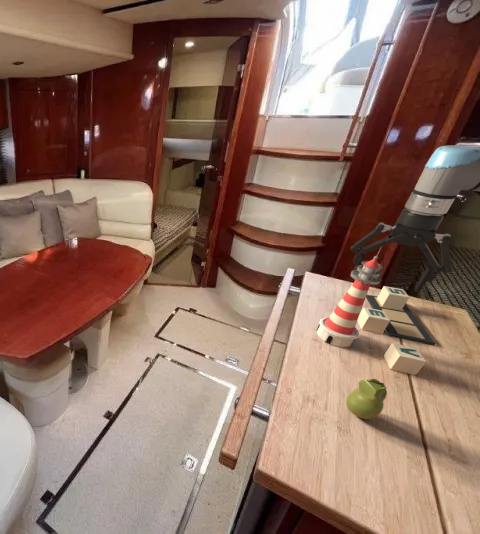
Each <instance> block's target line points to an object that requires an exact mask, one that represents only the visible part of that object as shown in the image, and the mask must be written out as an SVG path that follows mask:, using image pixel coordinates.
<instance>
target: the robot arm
mask: <svg viewBox="0 0 480 534" xmlns="http://www.w3.org/2000/svg"><path fill="white" fill-rule="evenodd" d="M461 191H468V192H469V191H471V192H480V146H468V145H457V144H455V145H453V144H452V145H450V144H449V145H442V146H439V147H437V148H435V150H434V151H433V153H432V154H431V156H430V158H429V159H428V160H427V162H426V164H424V168H423V171H422V172H421V174H420V176H419V178H418V180H417V183H416V184H415V186H414V188H413V190H412V192H411V193H410V195H409V197H408V198H407V201H406V202H405V204H404V208H403V209H402V210H401V212H400V214H399V216H398V218H397V220H396V221H395V223H394V224H393V225H389V224H385V223H384V222H383V221H381V222H379V223H378V224H377V225H376V226H375V228H374V229H373V230H371V231H370V232H368V233H367V234H366V235H364V236H362V238H360V239H359V240H357V241H356V242H355V243H353V244H352V245H351V246H350V252H352V253H354V254H355V255H354V258H353V260H352V265H354V268H353V270H357V268H358V266H359V265H363V264H362V262H363V261H365V258H366V254H368V253H370V252H373V251H375V250H378V249H381V247H382V248H383V247H385V246H387V245H390V244H391V245H392V244H393V243H395V244H397V245H400V246H407V247H410V248H414V247H415V248H416V247H418V248H419V249H420V251H421V253H422V254H423V256H424V258H425V259H426V261H427V263H428V265H429V266H430V267H426V268H425V270H424V271H423V273H422V274H421V276H420V278H419V280H418V281H417V282H416V285H415V286H414V292H415V293H418V294H420V292H421V290H422V289H423V287H424V286H425V284H426V283H432V282H433V281H434V280H435V278H436V277H437V275H438V274H441V273H447V274H448V273H449V274H450V273H451V272H453V268H452V261H451V253H450V247H449V245H450V243H451V241H452V236H451V234H450V233H449V232H448V233H447V232H446V233H443V234H441V233H436V231H437V230H438V228H439V226H440V224H441V223H442V221H443V220H444V217H445V216H444V215H445V214H448V211H449V210H450V208H451V206H452V205H453V203H454V201H455V199H457V196H458V195H459V194H460V193H461ZM387 231H389V233H390V234H389V235H387V236H385V237H383V238H381V239H379V240H377V241H374V242H371V243H370V241H372V240H373V239H374V238H377V236H379V235H380V234H381V233H385V232H387ZM434 239H436V242H437V243H438V244H439V246H440V253H441V260H442V265H440V264H438V262H437V260H436V258H435V257H434V255H433V253H432V251H431V249H430V248H429V245H428V244H427V243H428V242H429V241H433V240H434ZM368 243H369V244H368ZM363 263H364V262H363ZM354 272H355V271H354ZM356 272H357V271H356Z"/></svg>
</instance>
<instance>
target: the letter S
mask: <svg viewBox="0 0 480 534" xmlns="http://www.w3.org/2000/svg"><path fill="white" fill-rule="evenodd" d="M377 296H378V297H377V299H378V300H379V302H380V304H381V305H382V306H384V307H390V308H395V309H400V310H402V308H403V307H404V305H405V304H406V305H407V302H408V301H409V299H410V296H409V295H408V294H407V292H406V291H405V290H404V289H403V288H397V287H393V286H392V287H391V286H386V285H383V287H382V289H381V290H380V292H379V294H378V295H377Z"/></svg>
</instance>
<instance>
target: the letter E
mask: <svg viewBox="0 0 480 534" xmlns="http://www.w3.org/2000/svg"><path fill="white" fill-rule="evenodd" d="M389 322H390V320H389V318H388V317H387V315H386V314H385V312H384V311H381V310H376V309H373V308H372V307H371V308H370V307H365V306H362V309H361V312H360V315H359V318H358V320H357V323H358V325H359V327H360V329H361V330H364V331H366V332H367V331H368V332H371V333H377V334H383V333H384V331H386V330H385V328H386V327H387V325H388V324H389Z"/></svg>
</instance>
